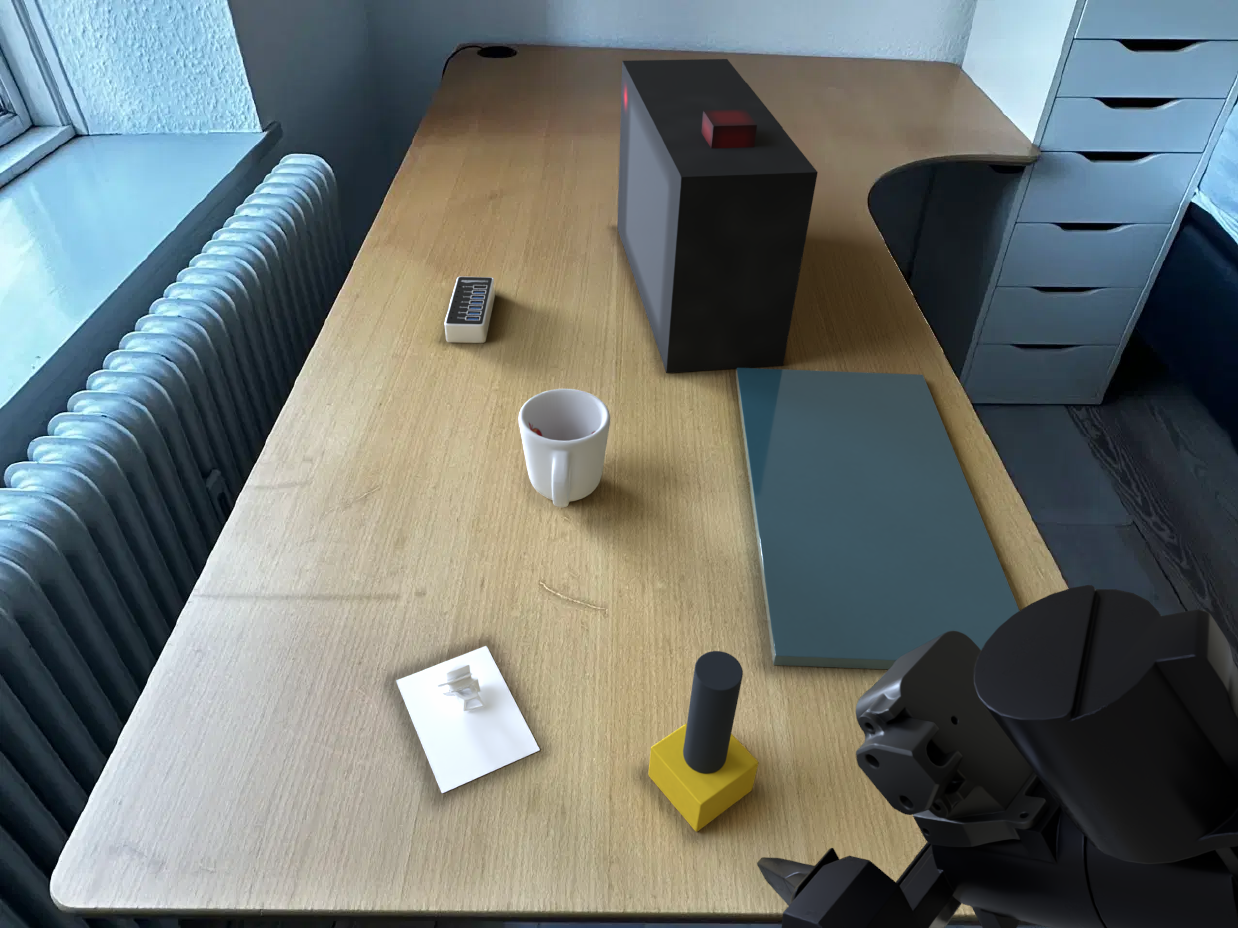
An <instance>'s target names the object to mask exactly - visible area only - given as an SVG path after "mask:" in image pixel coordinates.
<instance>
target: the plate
mask: <svg viewBox="0 0 1238 928" xmlns="http://www.w3.org/2000/svg"><path fill="white" fill-rule="evenodd" d="M735 383H736V390H737V397H738V405H739V413H740V420H741V430H742V436H743V443H744V452H745V460H746V467H747V474H748V481H749V489H750V498H751V504H752V513H753V521H754V529H755V536H756V543H757V551H758V552H757V553H758V559H759V566H760V574H761V582H762V589H763V590H762V591H763V599H764V605H765V612H766V620H767V629H768V637H769V644H770V651H771V659H772V665H773V666H787V667H789V666H791V667H813V668H815V667H816V668H817V667H818V668H841V669H843V668H844V669H866V670H868V669H869V670H889V669H890V668H891V667H892V666H893V664H894V662H895V661H896V660H897V659H898V658H899V657H901V656H903V655H904V654H906V653H908V652H910V651H912V650H914V649H916V648H918V647H920V646H921V645H923V644H925V643H927V642H929V641H931V640H933V639H935V638H936V637H938V636H940V635H942V634H944V633H946V632H948V631H958V632H961V633H963V634H965V635H967V636H968V637H969V638H970V639H971V640H972V641H973V642H974V643H975V644H976V645H977V646H978V647H979V648H980V650H982V648H983V646H984V645H985V643H986V642H987V640H988V639H989V638H990V637H991V636H992V634H993V633H994V632H995V631H996V630H997V629H998V628H999V627H1000V626H1001V625H1002V624H1003V623H1004V622H1006V621H1007V620H1008V619H1009V618H1010V617H1011V616H1013V615H1014V614H1016V613H1017V612H1019V611H1020V608H1019V606H1018V604H1017V601H1016V598H1015V596H1014V594H1013V591H1012V589H1011V587H1010V584H1009V582H1008V578H1007V576H1006V575H1005V571H1004V569H1003V566H1002V564H1001V562H1000V560H999V557H998V555H997V552H996V549H995V548H994V544H993V542H992V539H991V537H990V535H989V533H988V531H987V528H986V525H985V523H984V520H983V518H982V516H981V512H980V511H979V508H978V505H977V503H976V500H975V499H974V496H973V493H972V491H971V489H970V487H969V483H968V482H967V481H968V480H967V479H966V477H965V474H964V472H963V469H962V467H961V464H960V462H959V460H958V456H957V453H956V451H955V450H954V447H953V445H952V442H951V440H950V437H949V434H948V433H947V432H948V431H947V430H946V427H945V425H944V423H943V420H942V418H941V415H940V412H939V411H938V408H937V405H936V403H935V401H934V397H933V396H932V393H931V390H930V389H929V386H928V384H927V381H926V379H925V377H924V374H920V373H919V374H918V373H916V374H915V373H890V372H867V371H866V372H865V371H863V372H862V371H839V370H837V371H836V370H811V369H785V368H784V369H781V368H780V369H779V368H761V367H752V368H736V369H735Z"/></svg>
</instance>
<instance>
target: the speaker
mask: <svg viewBox="0 0 1238 928" xmlns="http://www.w3.org/2000/svg"><path fill="white" fill-rule="evenodd" d="M620 90H621V91H620V98H621V99H620V120H619V121H620V127H619V155H618V156H619V159H618V162H619V163H618V188H617V189H618V191H617V192H618V193H617V197H618V198H617V221H616V222H617V225H616V228H617V232H618V235H619V237H620V238H619V239H620V240H621V243H622V246H623V248H624V253H625V256H626V258H627V262H628V264H629V267H630V271H631V273H632V276H633V279H634V283H635V285H636V288H637V291H638V294H639V297H640V299H641V303H642V306H643V308H644V311H645V314H646V317H647V320H648V323H649V327H650V329H651V333H652V336H653V338H654V341H655V343H656V346H657V350H658V353H659V355H660V358H661V362H662V365H663V367H664V370H665V373H666V374H673V373H687V372H688V373H691V372H706V371H719V370H720V371H721V370H733V369H735V370H737V368H764V367H766V368H767V367H780V366H781V367H783V366H784V363H785V358H786V352H787V347H788V341H789V337H790V330H791V325H792V324H791V323H792V318H793V313H794V307H795V301H796V296H797V290H798V284H799V279H800V273H801V268H802V264H803V263H802V262H803V256H804V251H805V245H806V240H807V234H808V229H809V224H810V223H809V222H810V219H811V213H812V208H813V207H812V205H813V201H814V195H815V190H816V184H817V178H818V173H819V172H818V170H817V169H816V168H815V167H814V166H813V164H812V163H811V162H810V160H808V157H806V155H805V154H804V153H803V152H802V150H801V149H800V148H799V147H798V145H797V144H796V143H795V141H794V140H792V138H791V137H790V136H789V134H788V133H787V132H786V130H785V129H784V128H783V126H782V125H781V123H780V122H779V121H778V120H777V118H776V117H775V116H774V114H772V112H771V111H770V110H769V109H768V107H767V105H765V104H764V102H763V101H762V100H761V99H760V97H759V96H758V95H757V93H756V92H755V91H754V89H752V87H751V86H750V84H749V83H747V82H746V80H745V79H744V78H743V77H742V76H741V74H740V73H739V72H738V71H737V69H736V68H735V67H734V66H733V64H732V63H731V62H730V61H729V59H728V58H703V59H702V58H701V59H698V58H697V59H644V60H643V59H642V60H641V59H639V60H637V59H636V60H622V62H621V89H620Z"/></svg>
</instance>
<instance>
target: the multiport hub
mask: <svg viewBox="0 0 1238 928" xmlns="http://www.w3.org/2000/svg"><path fill="white" fill-rule="evenodd" d="M495 287H496V286H495V278H494V277H491V276H458V277H457V278H456V281H455V284H454V288H453V291H452V295H451V298H450V301H449V305H448V308H447V312H446V316H445V319H444V324H443V325H444V331H445V333H444V334H445V340H446V342H447V343H458V344H459V343H462V344H463V343H465V344H466V343H467V344H483V343H486V341H487V338H488V337H487V336H488V331H489V327H490V323H491V317H492V313H493V312H492V311H493V308H494V303H495V298H496V289H495Z"/></svg>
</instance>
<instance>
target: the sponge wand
mask: <svg viewBox="0 0 1238 928" xmlns="http://www.w3.org/2000/svg"><path fill="white" fill-rule="evenodd" d="M743 675H744V671H743V667H742V665H741V663H740V661H739V660H738V659H737V658H736V657H735V656H733V655H732V654H730V653H727V652H725V651H722V650H711V651H708V652H705V653H703V654H702V655H700V656H699V657H698V658H697V659H696V662H695V664H694V670H693V676H692V685H691V690H690V691H691V692H690V698H689V707H688V713H687V721H686V723H685V724H683V725H682V726H680V727H679V728H677V729H676V730H674V731H672V732H671V733H670V734H669V735H667V736H665V737H664V738H662V739H660V741H657V743H655V744H654V745H652V746H651V747H650V753H649V763H648V764H649V765H648V777H649V778H650V779H651V781H652V782H653V783H654V784H655V786H657V788H658V789H659V790H660V791H661V792H662V794H663V795H664V796H665V797H666V798H667V800H668V801H669V802H670V803H671V804H672V806H673V807H674V808H675V809H676V810H677V811H678V813H679V814H680V815H681V816H682V818H684V820H685V821H686V822H687V823H688V824H689V826H690V827H691V828H692V829H693V830H694V832H699V831H701V829H703V828H704V827H706V826H707V825H708V824H710V823H711V822H712V821H714V819H716V818H718V817H719V816H720V815H722V814H723V813H724V812H725V811H726V810H728V809H729V808H730V807H732V806H733V805H735V804H736V803H737V802H739V801H740V800H741V799H742V798H744V797H745V796H747V795H748V794H749V793H750V792H751V791H753V788H754V784H755V780H756V775H757V771H758V767H759V761H758V759H756V758H755V756H754V755H753V754H752V753H751V752H750V751H749V750H748V749H747V748H746V747H745V746H744V745H743V744H742V743H741V742H740V741H739V739H737V738H736V736H735V735H734V734H733V733H732V732H733V728H734V727H733V726H734V723H735V717H736V711H737V707H738V706H737V705H738V703H739V702H738V701H739V695H740V691H741V686H742V681H743Z"/></svg>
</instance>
